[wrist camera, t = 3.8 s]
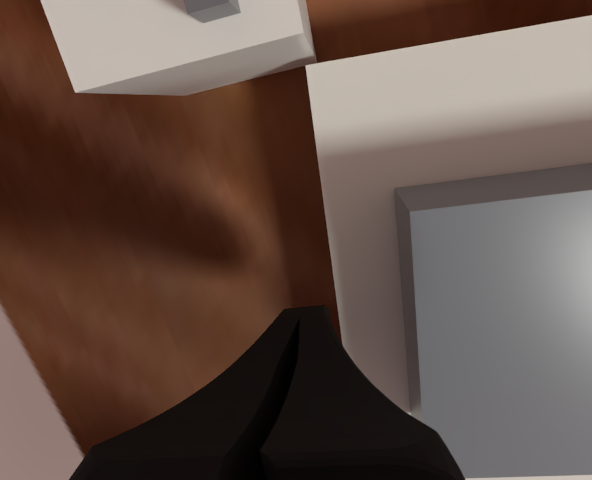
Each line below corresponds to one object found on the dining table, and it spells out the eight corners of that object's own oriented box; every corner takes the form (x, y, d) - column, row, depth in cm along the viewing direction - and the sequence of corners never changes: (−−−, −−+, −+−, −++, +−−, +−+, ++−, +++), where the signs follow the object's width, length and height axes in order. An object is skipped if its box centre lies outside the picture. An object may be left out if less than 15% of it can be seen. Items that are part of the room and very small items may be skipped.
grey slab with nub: (670, 403, 12) (769, 492, 10) (410, 415, 14) (430, 499, 11) (719, 146, 10) (874, 166, 7) (394, 188, 11) (414, 219, 8)
